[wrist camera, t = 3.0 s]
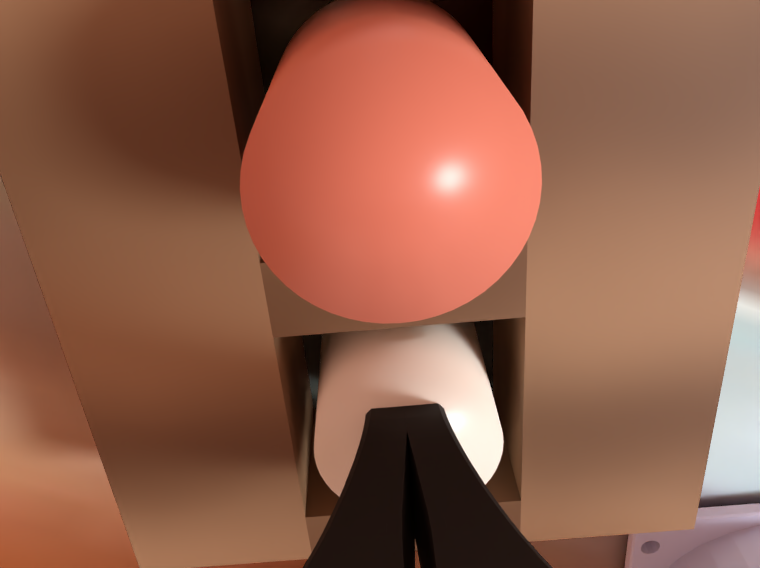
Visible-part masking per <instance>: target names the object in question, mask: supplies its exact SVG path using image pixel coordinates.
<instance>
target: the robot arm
mask: <svg viewBox="0 0 760 568" xmlns="http://www.w3.org/2000/svg"><path fill="white" fill-rule="evenodd" d="M415 540H416V545H417V551H418V556H419V561H420V567H421V568H552V567H551V566H550V565H549V564H548V562H547V561H546V560H545V559H544V558H543V557H542V556H541V555H540V554H539V553H538V552H537V550H536V549H535V548H534V547H533V546H532V545H531V544H530V542H529V541H528V540H527V539H526V538H525V537H524V535H523V534H522V533H521V532H520V531H519V529H518V528H517V527H516V526H515V524H514V523H513V522H512V521H511V519H510V518H509V517H508V515H507V514H506V513H505V511H504V510H503V509H502V507H501V506H500V505H499V503H498V502H497V501H496V499H495V498H494V497H493V495H492V494H491V492H490V491H489V489H488V488H487V487H486V485H485V483H484V482H483V480H482V479H481V477H480V476H479V474H478V473H477V471H476V470H475V468H474V466H473V465H472V463H471V462H470V460H469V458H468V457H467V455H466V453H465V452H464V450H463V448H462V446H461V444H460V442H459V441H458V439H457V437H456V435H455V433H454V431H453V429H452V427H451V425H450V422H449V420H448V418H447V415H446V413H445V409H444V408H443V407H442V406H441V405H440V404H438V403H434V404H422V405H410V406H405V407H404V406H398V407H385V408H373V409H370V410H369V411H368V412H367V413H366V415H365V423H364V427H363V432H362V436H361V440H360V443H359V446H358V450H357V453H356V456H355V459H354V462H353V464H352V467H351V469H350V472H349V475H348V477H347V480H346V482H345V485H344V488H343V490H342V492H341V495H340V497H339V499H338V501H337V503H336V506H335V508H334V510H333V512H332V514H331V516H330V518H329V520H328V522H327V525H326V527H325V529H324V531H323V533H322V534H321V536H320V538H319V540H318V542H317V544H316V546H315V547H314V549H313V551H312V553H311V555H310V556H309V558H308V560H307V561H306V563H305V565H304V566H303V568H415ZM624 568H760V503H756V504H743V505H730V506H717V507H704V508H698V511H697V517H696V522H695V527H694V529H689V530H676V531H663V532H651V533H638V534H629V536H628V543H627V551H626V559H625V567H624Z"/></svg>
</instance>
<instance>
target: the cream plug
mask: <svg viewBox="0 0 760 568" xmlns="http://www.w3.org/2000/svg"><path fill="white" fill-rule="evenodd" d="M434 403H438V404H440V405H441V406H442V407H443V408H444V409H445V413H446V415H447V418H448V420H449V422H450V425H451V427H452V429H453V431H454V433H455V435H456V437H457V439H458V441H459V442H460V444H461V446H462V448H463V450H464V452H465V453H466V455H467V457H468V458H469V460H470V462H471V463H472V465H473V466H474V468H475V470H476V471H477V473H478V474H479V476H480V477H481V479H482V480H483V482H484V483H485V485H486V483H487V482H488V481H489V480H490V479H491V477H492V476H493V474H494V473H495V471H496V469H497V467H498V465H499V462H500V460H501V456H502V452H503V432H502V428H501V424H500V420H499V416H498V413H497V409H496V405H495V401H494V398H493V394H492V390H491V386H490V382H489V379H488V375H487V371H486V367H485V363H484V360H483V356H482V352H481V348H480V345H479V341H478V337H477V333H476V329H475V326H474V322H461V323H448V324H436V325H424V326H411V327H399V328H387V329H374V330H362V331H350V332H337V333H325V334H322V343H321V356H320V370H319V383H318V397H317V410H316V424H315V437H314V457H315V461H316V465H317V468H318V470H319V473H320V475H321V477H322V478H323V480H324V481H325V483H326V484H327V485H328V486H329V488H330V489H331V490H332V491H333V492H334V493H335V494H337V495H338V496H339V497H340V495H341V492H342V490H343V488H344V485H345V482H346V480H347V477H348V475H349V472H350V469H351V467H352V464H353V462H354V459H355V456H356V453H357V450H358V446H359V443H360V440H361V436H362V432H363V427H364V423H365V415H366V413H367V412H368V411H369V410H370V409H373V408H385V407H398V406H404V407H405V406H410V405H422V404H434Z"/></svg>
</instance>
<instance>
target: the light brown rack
mask: <svg viewBox="0 0 760 568" xmlns="http://www.w3.org/2000/svg"><path fill="white" fill-rule="evenodd" d="M493 69H494V71H495V72H496V74H497V75H498V76H499V78H500V79H501V81H502V82H503V83H504V85H505V86H506V88H507V89H508V90H509V92H510V93H511V95H512V96H513V97H514V99H515V100H516V102H517V103H518V105H519V106H520V107H521V109H522V110H523V112H524V114H525V116H526V118H527V120H528V122H529V124H530V126H531V128H532V130H533V133H534V136H535V139H536V142H537V145H538V150H539V155H540V161H541V171H542V189H541V198H540V205H539V209H538V213H537V217H536V221H535V223H534V226H533V228H532V231H531V233H530V236H529V238H528V240H527V242H526V244H525V245H524V247H523V249H522V251H521V253H520V254H519V255H518V257H517V258H516V260H515V261H514V262H513V264H512V265H511V266H510V268H509V269H508V270H507V271H506V272H505V273H504V274H503V275H502V276H501V277H500V278H499V280H498V281H496V282H495V283H494V284H493V285H492V286H490V287H489V288H488V289H487V290H486V291H485V292H483V293H482V294H480V295H479V296H477V297H476V298H474V299H473V300H471V301H470V302H468V303H466V304H464V305H462V306H460V307H458V308H456V309H454V310H452V311H449V312H447V313H444V314H441V315H439V316H436V317H432V318H428V319H424V320H420V321H413V322H406V323H389V324H382V323H370V322H362V321H357V320H352V319H348V318H344V317H341V316H338V315H335V314H332V313H330V312H327V311H325V310H323V309H321V308H319V307H316V306H314V305H313V304H311V303H309V302H308V301H306V300H304V299H303V298H301V297H299V296H298V295H297V294H296V293H294V292H293V291H292V290H291V289H289V288H288V287H287V286H286V285H285V284H284V283H283V282H282V281H281V280H280V279H279V278H278V277H277V276H276V275H275V274H274V273H273V272H272V271H271V270H270V268H269V267H268V266H267V264H266V263H265V262H264V260H263V259H262V257H261V256H260V254H259V252H258V251H257V249H256V247H255V245H254V244H253V241H252V239H251V236H250V234H249V231H248V229H247V227H246V223H245V219H244V215H243V211H242V205H241V196H240V171H241V165H242V159H243V153H244V150H245V147H246V144H247V141H248V138H249V135H250V132H251V130H252V127H253V125H254V122H255V120H256V118H257V115H258V113H259V110H260V108H261V106H262V103H263V101H264V98H265V93H264V87H263V80H262V74H261V68H260V61H259V55H258V48H257V42H256V35H255V29H254V23H253V16H252V10H251V3H250V0H0V175H1V177H2V180H3V183H4V186H5V189H6V192H7V194H8V197H9V200H10V203H11V206H12V208H13V211H14V214H15V217H16V220H17V223H18V225H19V228H20V231H21V234H22V237H23V240H24V242H25V245H26V248H27V251H28V254H29V257H30V259H31V262H32V265H33V268H34V271H35V274H36V276H37V279H38V282H39V285H40V288H41V291H42V293H43V296H44V299H45V302H46V305H47V307H48V310H49V313H50V316H51V319H52V322H53V324H54V327H55V330H56V333H57V336H58V339H59V341H60V344H61V347H62V350H63V353H64V356H65V358H66V361H67V364H68V367H69V370H70V373H71V375H72V378H73V381H74V384H75V387H76V390H77V392H78V395H79V398H80V401H81V404H82V406H83V409H84V412H85V415H86V418H87V421H88V423H89V426H90V429H91V432H92V435H93V438H94V440H95V443H96V446H97V449H98V452H99V455H100V457H101V460H102V463H103V466H104V469H105V472H106V474H107V477H108V480H109V483H110V486H111V489H112V491H113V494H114V497H115V500H116V503H117V505H118V508H119V511H120V514H121V517H122V520H123V522H124V525H125V528H126V531H127V534H128V537H129V539H130V542H131V545H132V548H133V551H134V554H135V556H136V559H137V562H138V565H139V568H197V567H210V566H223V565H236V564H249V563H262V562H274V561H287V560H300V559H308V558H309V556H310V555H311V553H312V551H313V549H314V547H315V546H316V544H317V542H318V540H319V538H320V536H321V534H322V533H323V531H324V529H325V527H326V525H327V522H328V520H329V518H330V516H331V514H332V512H333V510H334V508H335V506H336V503H337V501H338V499H339V496H338V495H337V494H335V493H334V492H333V491H332V490H331V489H330V488H329V486H328V485H327V484H326V483H325V481H324V480H323V478H322V477H321V475H320V473H319V470H318V468H317V465H316V461H315V457H314V437H315V424H316V410H314V408H313V402H312V395H311V389H310V382H309V376H308V370H307V363H306V357H305V350H304V344H303V337H302V335H313V334H325V333H337V332H350V331H362V330H374V329H387V328H399V327H411V326H424V325H436V324H448V323H461V322H473V321H485V320H493V398H494V401H495V405H496V409H497V413H498V416H499V420H500V424H501V428H502V432H503V452H502V456H501V460H500V462H499V465H498V467H497V469H496V471H495V473H494V474H493V476H492V477H491V479H490V480H489V481H488V482H487V483H486V487H487V488H488V489H489V491H490V492H491V494H492V495H493V497H494V498H495V499H496V501H497V502H498V503H499V505H500V506H501V507H502V509H503V510H504V511H505V513H506V514H507V515H508V517H509V518H510V519H511V521H512V522H513V523H514V524H515V526H516V527H517V528H518V529H519V531H520V532H521V533H522V534H523V535H524V537H525V538H526V539H527V540H528V541H529V542H534V541H547V540H560V539H573V538H586V537H599V536H612V535H625V534H638V533H651V532H663V531H676V530H689V529H694V527H695V522H696V517H697V511H698V506H699V501H700V496H701V491H702V485H703V480H704V475H705V470H706V464H707V459H708V454H709V449H710V443H711V438H712V433H713V428H714V422H715V417H716V412H717V407H718V402H719V396H720V391H721V386H722V381H723V375H724V370H725V365H726V360H727V354H728V349H729V344H730V339H731V334H732V328H733V323H734V318H735V313H736V307H737V302H738V297H739V292H740V286H741V281H742V276H743V271H744V265H745V260H746V255H747V250H748V245H749V239H750V234H751V229H752V224H753V218H754V213H755V208H756V203H757V197H758V192H759V187H760V0H493ZM415 551H417V545H416V540H415Z"/></svg>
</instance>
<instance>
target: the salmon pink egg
mask: <svg viewBox="0 0 760 568" xmlns="http://www.w3.org/2000/svg"><path fill="white" fill-rule="evenodd" d="M541 189H542V171H541V161H540V155H539V150H538V145H537V142H536V139H535V136H534V133H533V130H532V128H531V126H530V124H529V122H528V120H527V118H526V116H525V114H524V112H523V110H522V109H521V107H520V106H519V105H518V103H517V102H516V100H515V99H514V97H513V96H512V95H511V93H510V92H509V90H508V89H507V88H506V86H505V85H504V83H503V82H502V81H501V79H500V78H499V76H498V75H497V74H496V72H495V71H494V69H493V68H492V67H491V65H490V64H489V62H488V61H487V60H486V58H485V57H484V55H483V54H482V53H481V51H480V50H479V48H478V47H477V46H476V44H475V43H474V41H473V40H472V39H471V37H470V36H469V34H468V33H467V32H466V30H465V29H464V28H463V27H462V26H461V25H460V24H459V22H458V21H457V20H456V19H455V18H454V17H452V16H451V15H450V14H449V13H447V12H446V11H445V10H444V9H442V8H441V7H439V6H437V5H436V4H434V3H432V2H430V1H428V0H336V1H333V2H331V3H329V4H328V5H326V6H325V7H323V8H322V9H320V10H318V11H317V12H316V13H315V14H313V15H312V16H311V17H310V18H309V19H308V20H306V21H305V22H304V24H303V25H302V26H301V27H300V28H299V29H298V30H297V32H296V33H295V34H294V36H293V37H292V39H291V40H290V42H289V43H288V45H287V47H286V49H285V51H284V53H283V55H282V57H281V60H280V62H279V64H278V67H277V69H276V72H275V74H274V76H273V79H272V81H271V84H270V86H269V89H268V91H267V93H266V96H265V98H264V101H263V103H262V106H261V108H260V110H259V113H258V115H257V118H256V120H255V122H254V125H253V127H252V130H251V132H250V135H249V138H248V141H247V144H246V147H245V150H244V153H243V159H242V165H241V171H240V196H241V205H242V211H243V215H244V219H245V223H246V227H247V229H248V231H249V234H250V236H251V239H252V241H253V244H254V245H255V247H256V249H257V251H258V252H259V254H260V256H261V257H262V259H263V260H264V262H265V263H266V264H267V266H268V267H269V268H270V270H271V271H272V272H273V273H274V274H275V275H276V276H277V277H278V278H279V279H280V280H281V281H282V282H283V283H284V284H285V285H286V286H287V287H288V288H289V289H291V290H292V291H293V292H294V293H296V294H297V295H298V296H299V297H301V298H303V299H304V300H306V301H308V302H309V303H311V304H313V305H314V306H316V307H319V308H321V309H323V310H325V311H327V312H330V313H332V314H335V315H338V316H341V317H344V318H348V319H352V320H357V321H362V322H370V323H382V324H389V323H406V322H413V321H420V320H424V319H428V318H432V317H436V316H439V315H441V314H444V313H447V312H449V311H452V310H454V309H456V308H458V307H460V306H462V305H464V304H466V303H468V302H470V301H471V300H473V299H474V298H476V297H477V296H479V295H480V294H482V293H483V292H485V291H486V290H487V289H488V288H489V287H490V286H492V285H493V284H494V283H495V282H496V281H498V280H499V278H500V277H501V276H502V275H503V274H504V273H505V272H506V271H507V270H508V269H509V268H510V266H511V265H512V264H513V262H514V261H515V260H516V258H517V257H518V255H519V254H520V253H521V251H522V249H523V247H524V245H525V244H526V242H527V240H528V238H529V236H530V233H531V231H532V228H533V226H534V223H535V221H536V217H537V213H538V209H539V205H540V198H541Z"/></svg>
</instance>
